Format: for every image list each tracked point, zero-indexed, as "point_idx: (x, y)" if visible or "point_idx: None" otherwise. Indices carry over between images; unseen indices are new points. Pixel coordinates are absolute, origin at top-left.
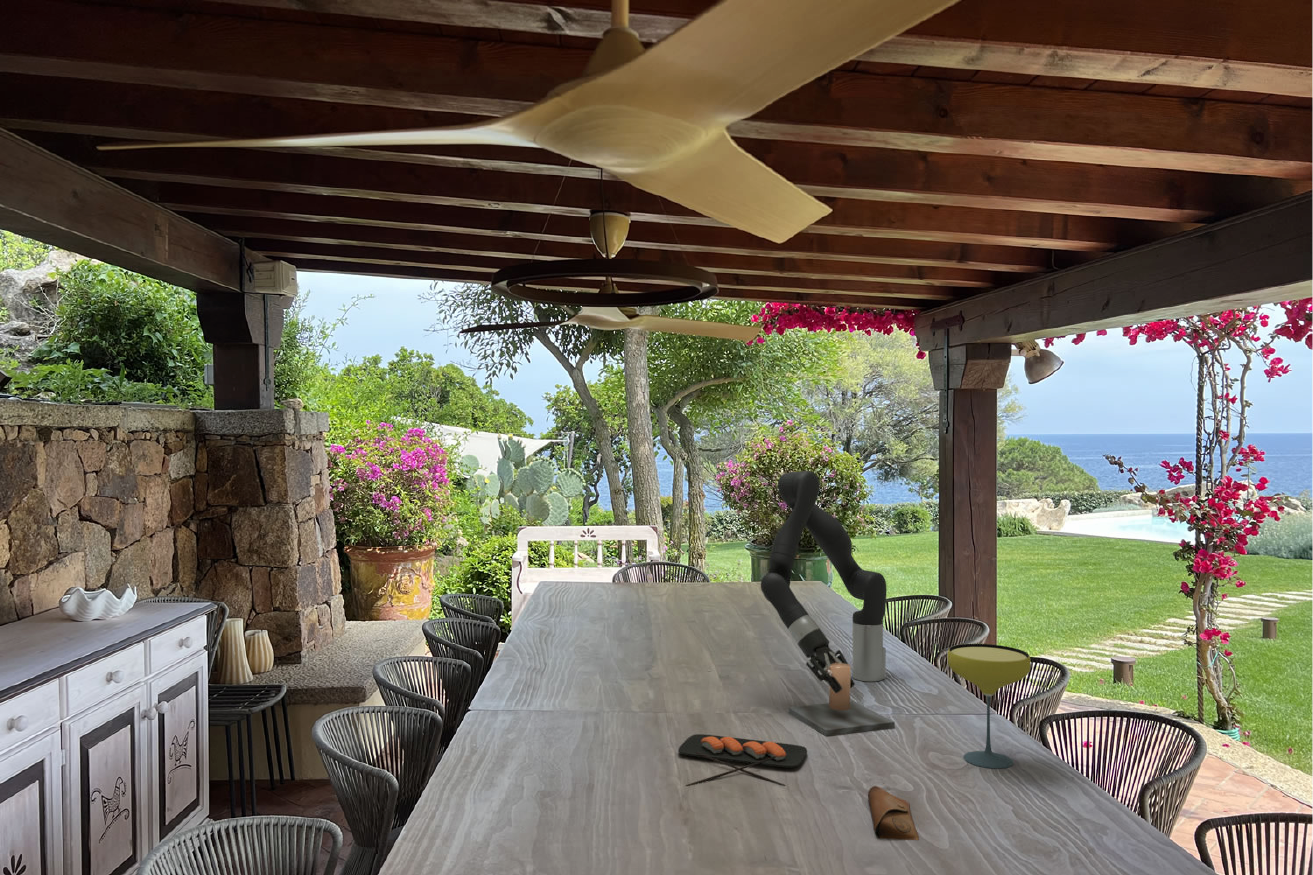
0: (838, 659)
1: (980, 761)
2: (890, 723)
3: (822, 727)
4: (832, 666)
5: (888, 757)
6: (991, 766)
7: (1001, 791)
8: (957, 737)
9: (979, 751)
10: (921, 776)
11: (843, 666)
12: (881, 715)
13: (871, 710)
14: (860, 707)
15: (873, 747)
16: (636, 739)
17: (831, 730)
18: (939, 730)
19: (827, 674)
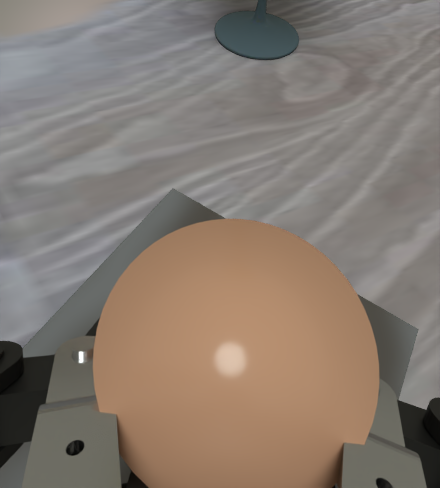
0: (31, 469)
1: (287, 34)
2: (185, 197)
3: (406, 356)
4: (355, 398)
5: (391, 147)
6: (290, 26)
7: (368, 14)
8: (158, 83)
9: (235, 41)
10: (420, 86)
11: (253, 280)
12: (124, 242)
13: (76, 294)
14: (51, 352)
15: (365, 190)
16: None
17: (394, 317)
18: (127, 117)
19: (431, 403)
